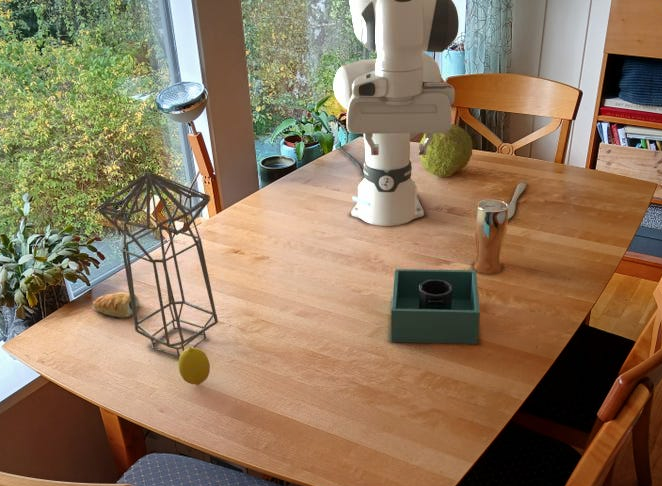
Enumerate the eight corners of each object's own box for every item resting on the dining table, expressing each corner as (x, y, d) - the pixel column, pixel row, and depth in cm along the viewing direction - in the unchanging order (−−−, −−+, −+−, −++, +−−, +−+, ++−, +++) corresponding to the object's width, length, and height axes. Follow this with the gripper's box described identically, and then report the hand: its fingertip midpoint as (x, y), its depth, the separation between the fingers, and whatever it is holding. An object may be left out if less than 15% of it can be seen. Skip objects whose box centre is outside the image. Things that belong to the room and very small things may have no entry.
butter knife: (530, 183, 205) (519, 181, 206) (507, 223, 185) (496, 221, 186) (529, 185, 205) (519, 183, 206) (507, 225, 185) (495, 223, 186)
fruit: (470, 184, 207) (447, 141, 198) (426, 194, 216) (403, 153, 208) (486, 148, 216) (465, 105, 207) (443, 159, 225) (421, 118, 216)
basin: (394, 298, 158) (394, 269, 154) (473, 300, 156) (475, 270, 152) (391, 341, 144) (391, 310, 140) (477, 344, 143) (480, 312, 138)
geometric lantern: (180, 314, 156) (149, 152, 136) (236, 336, 148) (212, 167, 128) (123, 350, 145) (80, 180, 125) (180, 376, 138) (144, 199, 118)
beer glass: (502, 275, 164) (509, 212, 155) (470, 273, 165) (475, 211, 157) (503, 261, 170) (509, 199, 161) (472, 259, 171) (477, 198, 162)
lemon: (183, 376, 138) (176, 340, 133) (213, 374, 138) (207, 338, 133) (180, 394, 133) (173, 358, 128) (211, 392, 133) (205, 355, 129)
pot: (419, 305, 154) (419, 276, 150) (450, 306, 153) (451, 276, 149) (418, 329, 147) (419, 298, 143) (450, 329, 146) (452, 299, 142)
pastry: (88, 315, 157) (84, 300, 155) (103, 300, 162) (99, 284, 160) (129, 319, 155) (125, 303, 153) (143, 303, 160) (139, 287, 158)
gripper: (455, 77, 140) (451, 148, 148) (347, 78, 142) (349, 149, 150) (455, 86, 135) (452, 160, 143) (344, 87, 137) (346, 160, 145)
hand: (398, 154), depth 146 cm, fingers open, 8 cm apart
